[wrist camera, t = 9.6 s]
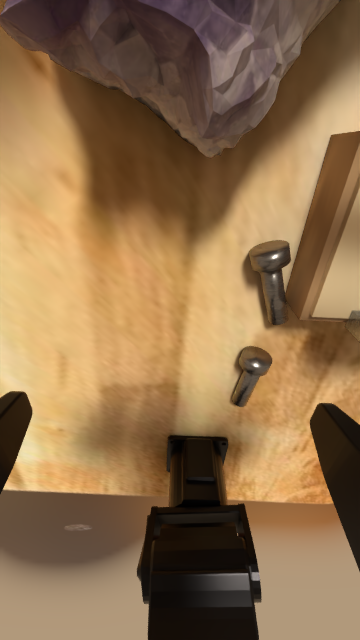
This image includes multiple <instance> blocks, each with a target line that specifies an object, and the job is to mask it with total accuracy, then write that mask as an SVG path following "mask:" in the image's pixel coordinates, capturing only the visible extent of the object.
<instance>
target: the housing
mask: <svg viewBox="0 0 360 640" xmlns="http://www.w3.org/2000/svg"><path fill="white" fill-rule="evenodd" d="M345 327H346V328H347V329H348V331H349V332H350V333H351V334H352V335H353V336H354V337H355V338H356V339H357V340H358V341H359V342H360V311H356V310H352V312H351V314H350V316H349V318H348V321H347V323H346V325H345Z"/></svg>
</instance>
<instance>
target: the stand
mask: <svg viewBox="0 0 360 640" xmlns="http://www.w3.org/2000/svg"><path fill="white" fill-rule="evenodd" d="M285 298H286V302H287V303H288V305H289V306H290V307H291V309H292V310H293V312H294V313H295V314H296V316H297V317H298V319H299V320H311V321H333V322H347V321H348V318H349V316H350V314H351V312H352V310H356V311H360V131H356V132H349V133H342V134H335V135H331V139H330V142H329V145H328V149H327V152H326V156H325V159H324V163H323V166H322V170H321V173H320V177H319V180H318V184H317V187H316V190H315V194H314V197H313V201H312V204H311V208H310V211H309V215H308V218H307V222H306V225H305V229H304V232H303V235H302V239H301V242H300V246H299V249H298V253H297V256H296V260H295V263H294V267H293V270H292V274H291V277H290V280H289V284H288V287H287V291H286V294H285Z"/></svg>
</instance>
